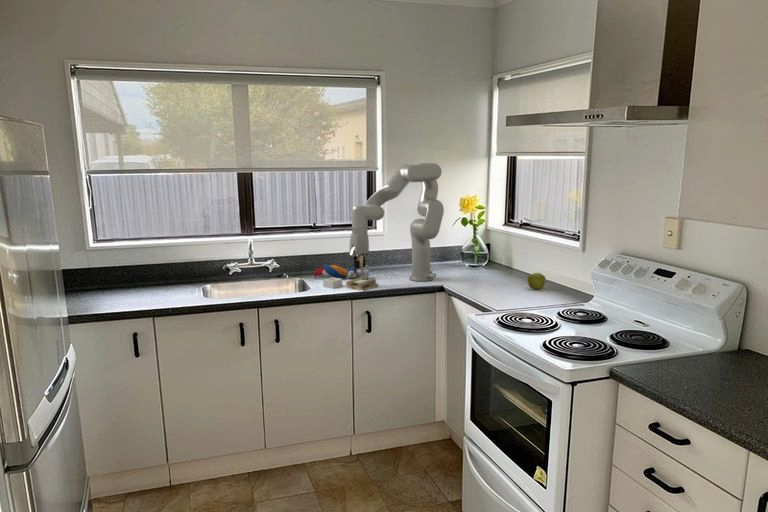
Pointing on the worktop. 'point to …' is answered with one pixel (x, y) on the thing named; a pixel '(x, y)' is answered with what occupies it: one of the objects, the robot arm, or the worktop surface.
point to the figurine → (341, 272)
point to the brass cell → (360, 261)
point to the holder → (332, 282)
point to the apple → (536, 281)
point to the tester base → (361, 284)
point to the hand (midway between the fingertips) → (359, 267)
